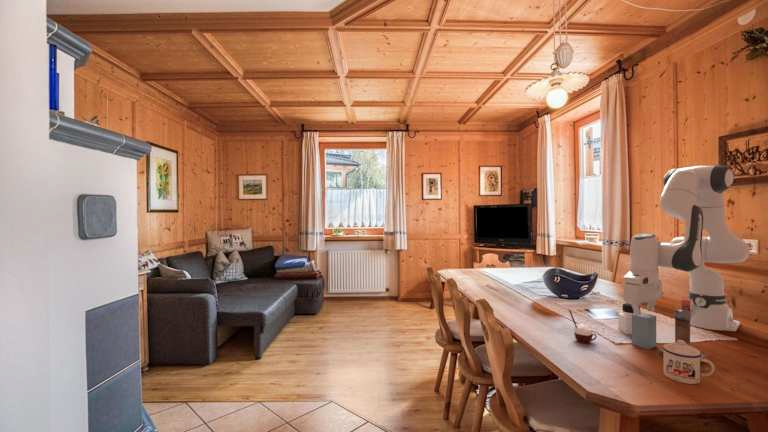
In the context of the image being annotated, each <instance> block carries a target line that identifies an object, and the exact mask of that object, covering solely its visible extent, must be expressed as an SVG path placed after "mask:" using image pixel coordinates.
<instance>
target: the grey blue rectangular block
mask: <svg viewBox="0 0 768 432" xmlns="http://www.w3.org/2000/svg"><path fill="white" fill-rule="evenodd" d="M631 345H632V346H633V345H634V346H636V347H638V348H639V347H640V348H643V349H646V350H650V349H653V348H655V347H657V315H654V314H651V313H650V314H649V313H646V312H642V311H641V314H640V315H635V314H632V334H631Z"/></svg>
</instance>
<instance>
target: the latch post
mask: <svg viewBox="0 0 768 432" xmlns="http://www.w3.org/2000/svg"><path fill="white" fill-rule="evenodd" d="M674 335H675V336H674V342H677V340H683V341H685V342H686V344H687V345H689V346H691V325H690V321H681V320H677V319H675V318H674ZM700 353H701V352H700ZM658 356H661V357H664V349H663V348H662V349H660V350H658ZM700 358H702V359H706V360H708V354H705V353H704V354H703V353H701V356H700ZM701 363H703V362H702V361H700V364H701Z"/></svg>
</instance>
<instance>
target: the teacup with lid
mask: <svg viewBox="0 0 768 432" xmlns="http://www.w3.org/2000/svg"><path fill="white" fill-rule="evenodd" d="M662 349H664V356H663V375H664V376H665V377H666V378H668V379H670V380H672V381H675V382H677V383H681V384H685V385H686V384H688V385H698V384H699V383H701V376H703V377H704V376H705V377H708V376H711V375H712V374H714V372H715V365H714V363H713V362H712V361H710V360H709V359H707V360H706V359H702V358H700V356H701V351H700V350H699V349H698V348H695V347H693V346H691V345H690V346H689V345H687V344H686V342H685V341H683V340H677V342H675V341H674V342H667V343H664V344H663V346H662ZM700 361H702V362H701V363H703V362H704V363H706V364H708V365H709V366H710V367H711V369H710V370H709V371H708V372H704V371H701V363H700Z"/></svg>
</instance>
